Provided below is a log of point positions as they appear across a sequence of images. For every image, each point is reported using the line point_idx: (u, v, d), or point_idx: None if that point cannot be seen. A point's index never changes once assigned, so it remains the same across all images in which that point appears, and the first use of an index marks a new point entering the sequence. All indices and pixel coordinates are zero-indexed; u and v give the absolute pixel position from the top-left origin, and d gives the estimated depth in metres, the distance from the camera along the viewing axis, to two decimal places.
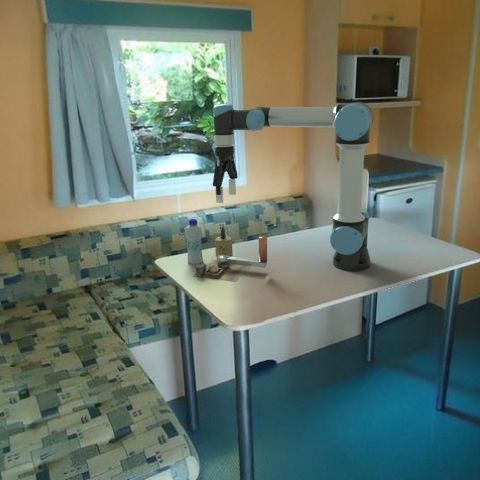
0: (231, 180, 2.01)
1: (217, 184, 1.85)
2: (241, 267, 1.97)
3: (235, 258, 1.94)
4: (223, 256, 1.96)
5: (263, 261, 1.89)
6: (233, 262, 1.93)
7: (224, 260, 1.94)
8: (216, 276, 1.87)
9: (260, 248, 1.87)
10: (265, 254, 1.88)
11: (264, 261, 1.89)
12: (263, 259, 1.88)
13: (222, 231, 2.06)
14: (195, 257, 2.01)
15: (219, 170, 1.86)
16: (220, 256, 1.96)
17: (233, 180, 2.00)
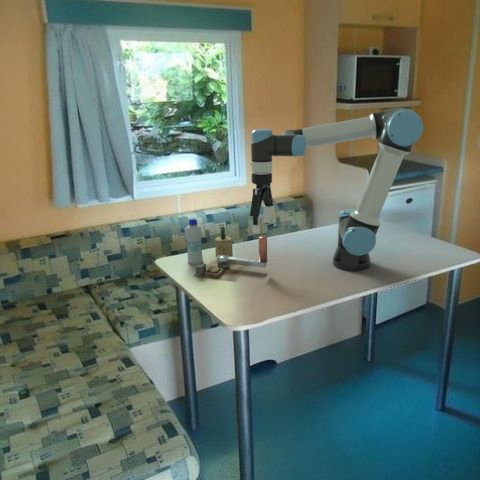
0: (266, 208, 1.90)
1: (255, 214, 1.74)
2: (241, 267, 1.97)
3: (235, 258, 1.94)
4: (223, 256, 1.96)
5: (263, 261, 1.89)
6: (233, 262, 1.93)
7: (224, 260, 1.94)
8: (216, 276, 1.87)
9: (260, 248, 1.87)
10: (265, 254, 1.88)
11: (264, 261, 1.89)
12: (263, 259, 1.88)
13: (222, 231, 2.06)
14: (195, 257, 2.01)
15: (257, 199, 1.75)
16: (220, 256, 1.96)
17: (269, 208, 1.89)
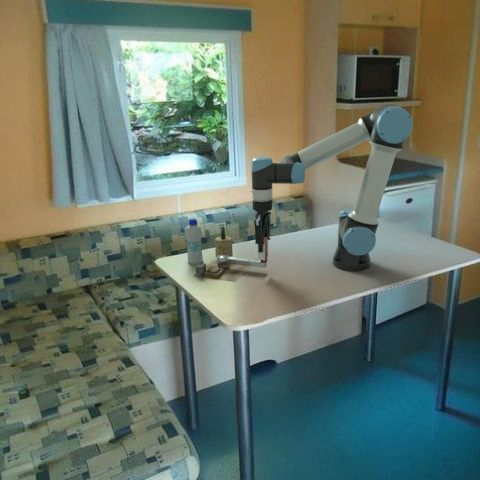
0: None
1: (260, 242, 1.82)
2: (241, 267, 1.97)
3: (235, 258, 1.94)
4: (223, 256, 1.96)
5: (263, 261, 1.89)
6: (233, 262, 1.93)
7: (224, 260, 1.94)
8: (216, 276, 1.87)
9: None
10: (265, 254, 1.88)
11: (264, 261, 1.89)
12: None
13: (222, 231, 2.06)
14: (195, 257, 2.01)
15: (260, 230, 1.80)
16: (220, 256, 1.96)
17: None
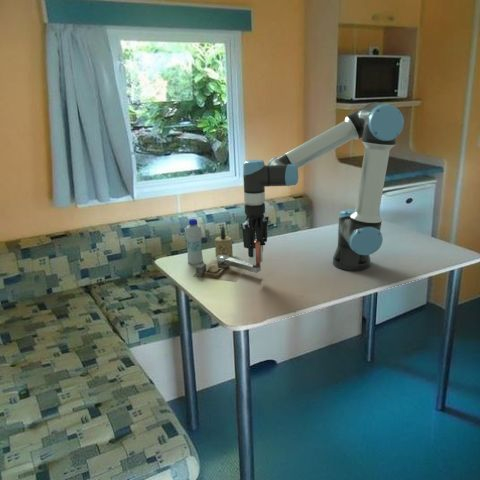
0: None
1: (248, 247, 1.78)
2: None
3: (233, 259, 1.93)
4: (223, 256, 1.96)
5: (255, 266, 1.84)
6: (230, 263, 1.92)
7: (222, 260, 1.94)
8: (216, 276, 1.87)
9: None
10: (257, 259, 1.83)
11: (256, 266, 1.84)
12: None
13: (222, 231, 2.06)
14: (195, 257, 2.01)
15: (246, 234, 1.76)
16: (221, 256, 1.97)
17: (260, 246, 1.84)
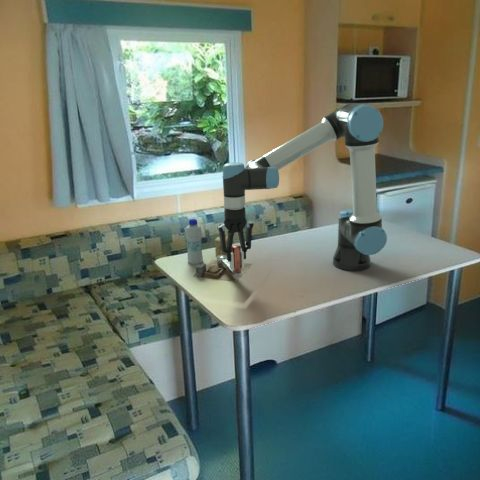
0: None
1: (223, 250, 1.76)
2: None
3: (227, 261, 1.91)
4: (223, 256, 1.96)
5: (233, 271, 1.80)
6: (223, 264, 1.92)
7: (219, 260, 1.94)
8: (216, 276, 1.87)
9: None
10: (235, 265, 1.78)
11: (234, 272, 1.79)
12: None
13: None
14: (195, 257, 2.01)
15: (221, 237, 1.74)
16: (222, 255, 1.97)
17: (241, 253, 1.78)
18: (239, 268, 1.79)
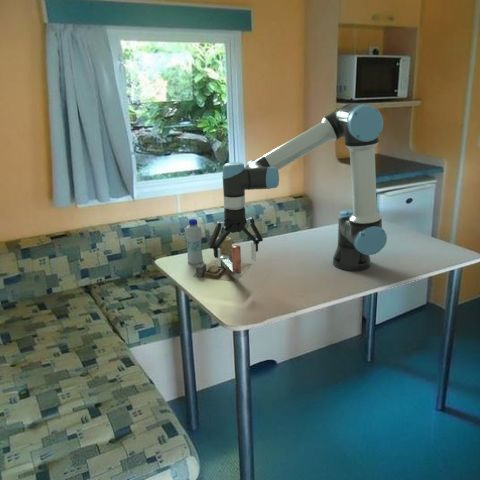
0: (252, 244, 1.80)
1: (209, 246, 1.73)
2: (241, 267, 1.97)
3: (226, 261, 1.91)
4: (223, 256, 1.96)
5: (233, 271, 1.80)
6: (223, 264, 1.92)
7: None
8: (216, 276, 1.87)
9: (232, 257, 1.79)
10: (235, 265, 1.78)
11: (234, 272, 1.79)
12: (233, 269, 1.79)
13: (222, 231, 2.06)
14: (195, 257, 2.01)
15: (215, 232, 1.72)
16: (222, 255, 1.97)
17: (253, 245, 1.79)
18: (239, 268, 1.79)
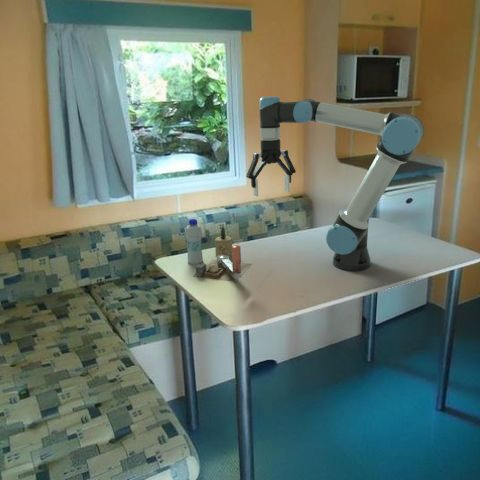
0: (285, 176, 1.93)
1: (248, 176, 1.86)
2: (241, 267, 1.97)
3: (226, 261, 1.91)
4: (223, 256, 1.96)
5: (233, 271, 1.80)
6: (223, 264, 1.92)
7: (219, 260, 1.94)
8: (216, 276, 1.87)
9: (232, 257, 1.79)
10: (235, 265, 1.78)
11: (234, 272, 1.79)
12: (233, 269, 1.79)
13: (222, 231, 2.06)
14: (195, 257, 2.01)
15: (253, 163, 1.85)
16: (222, 255, 1.97)
17: (287, 176, 1.92)
18: (239, 268, 1.79)
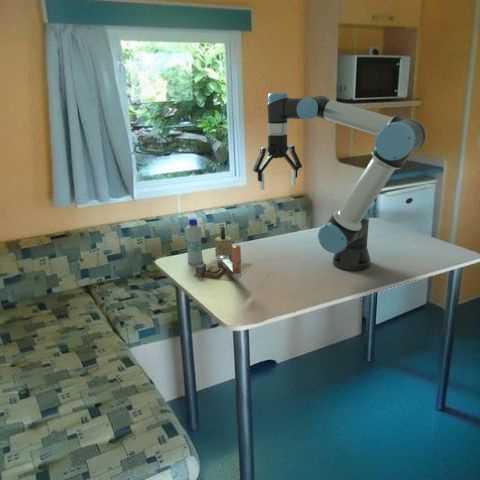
0: (292, 171, 1.97)
1: (254, 170, 1.90)
2: (241, 267, 1.97)
3: (226, 261, 1.91)
4: (223, 256, 1.96)
5: (233, 271, 1.80)
6: (223, 264, 1.92)
7: (219, 260, 1.94)
8: (216, 276, 1.87)
9: (232, 257, 1.79)
10: (235, 265, 1.78)
11: (234, 272, 1.79)
12: (233, 269, 1.79)
13: (222, 231, 2.06)
14: (195, 257, 2.01)
15: (260, 157, 1.89)
16: (222, 255, 1.97)
17: (293, 171, 1.96)
18: (239, 268, 1.79)
